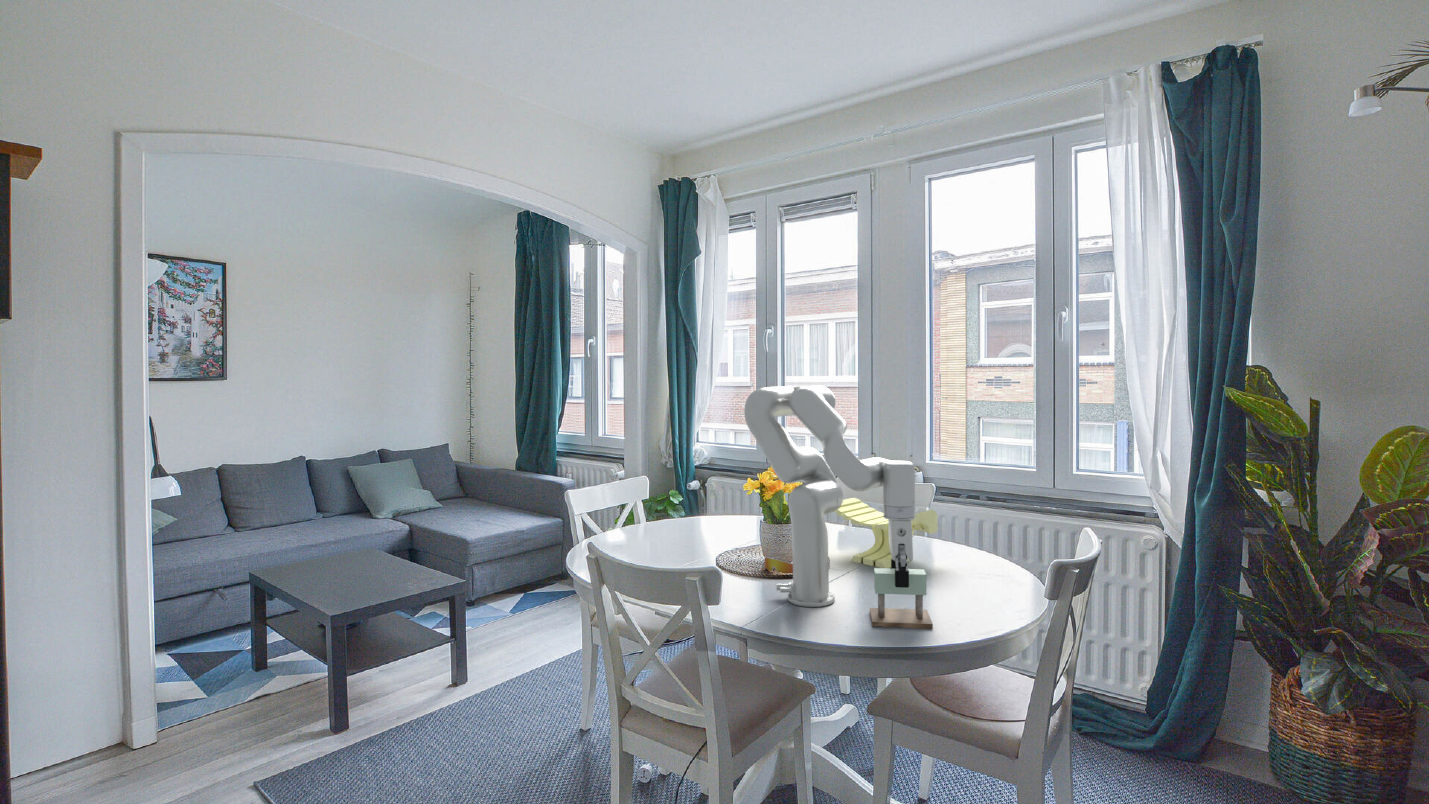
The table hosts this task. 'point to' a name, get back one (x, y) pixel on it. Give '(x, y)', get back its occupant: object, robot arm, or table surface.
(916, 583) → the mint green rectangular block
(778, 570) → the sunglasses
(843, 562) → the table surface
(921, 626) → the peg stand
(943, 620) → the table surface
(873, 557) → the slatted curved stool
